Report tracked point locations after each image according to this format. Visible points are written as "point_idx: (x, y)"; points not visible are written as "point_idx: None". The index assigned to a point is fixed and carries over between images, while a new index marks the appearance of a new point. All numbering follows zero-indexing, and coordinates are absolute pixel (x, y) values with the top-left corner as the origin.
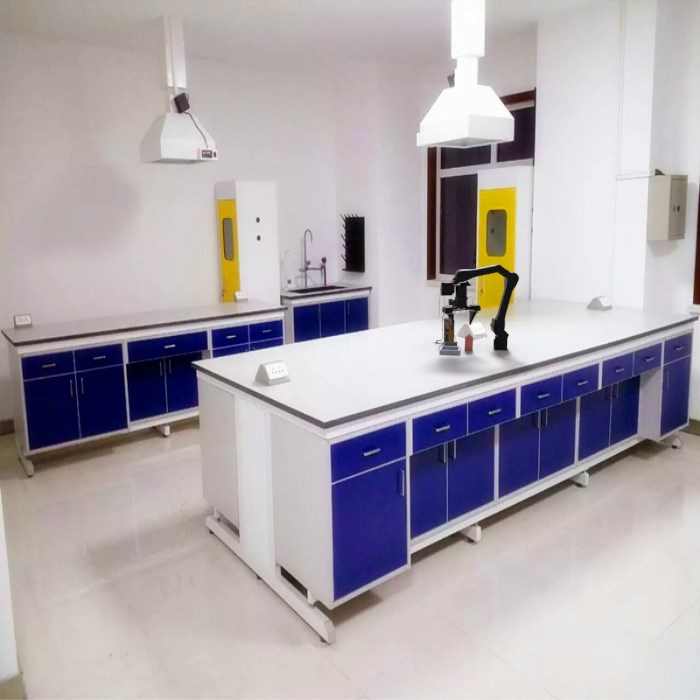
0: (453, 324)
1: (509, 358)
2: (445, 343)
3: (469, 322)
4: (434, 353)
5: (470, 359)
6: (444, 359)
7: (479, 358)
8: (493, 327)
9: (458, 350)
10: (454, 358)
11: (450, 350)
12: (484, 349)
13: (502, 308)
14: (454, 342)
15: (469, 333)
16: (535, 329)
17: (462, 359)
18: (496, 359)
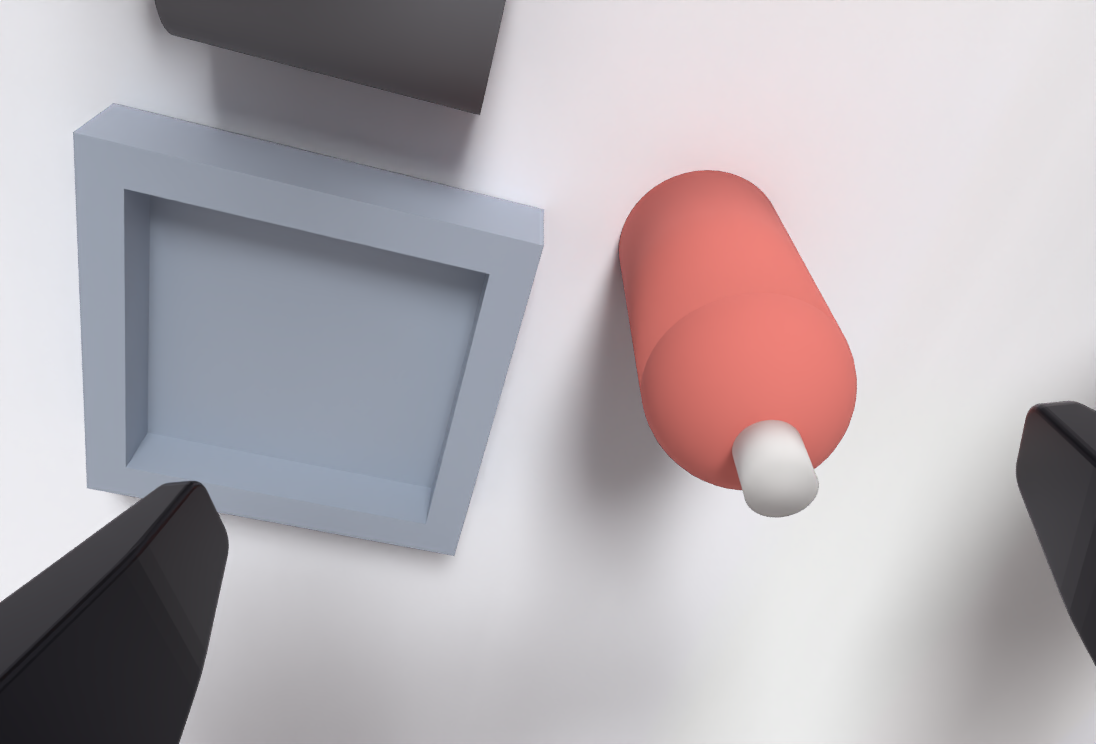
0: (196, 635)
1: (1055, 717)
2: (172, 27)
3: (1079, 488)
4: (21, 393)
5: (550, 713)
6: (211, 688)
7: (681, 688)
8: None
9: (430, 542)
10: (349, 663)
11: (289, 523)
12: (1052, 202)
13: None
14: (415, 68)
15: (777, 513)
16: None
17: (448, 706)
18: (870, 737)
